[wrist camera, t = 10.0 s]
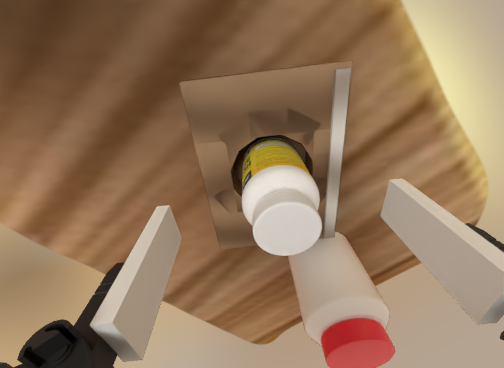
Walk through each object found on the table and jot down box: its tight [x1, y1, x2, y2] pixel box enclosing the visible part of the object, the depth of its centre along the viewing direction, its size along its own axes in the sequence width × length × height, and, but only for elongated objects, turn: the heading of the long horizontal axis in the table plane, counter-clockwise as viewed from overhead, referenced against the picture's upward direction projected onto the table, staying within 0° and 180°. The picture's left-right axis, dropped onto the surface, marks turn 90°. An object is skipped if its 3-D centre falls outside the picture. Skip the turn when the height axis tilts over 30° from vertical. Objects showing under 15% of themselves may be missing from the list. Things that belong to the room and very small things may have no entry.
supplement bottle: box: [242, 137, 322, 256], centre depth 16 cm, size 5×5×10 cm
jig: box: [179, 61, 353, 249], centre depth 20 cm, size 16×12×3 cm
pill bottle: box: [288, 231, 395, 368], centre depth 22 cm, size 8×8×11 cm
